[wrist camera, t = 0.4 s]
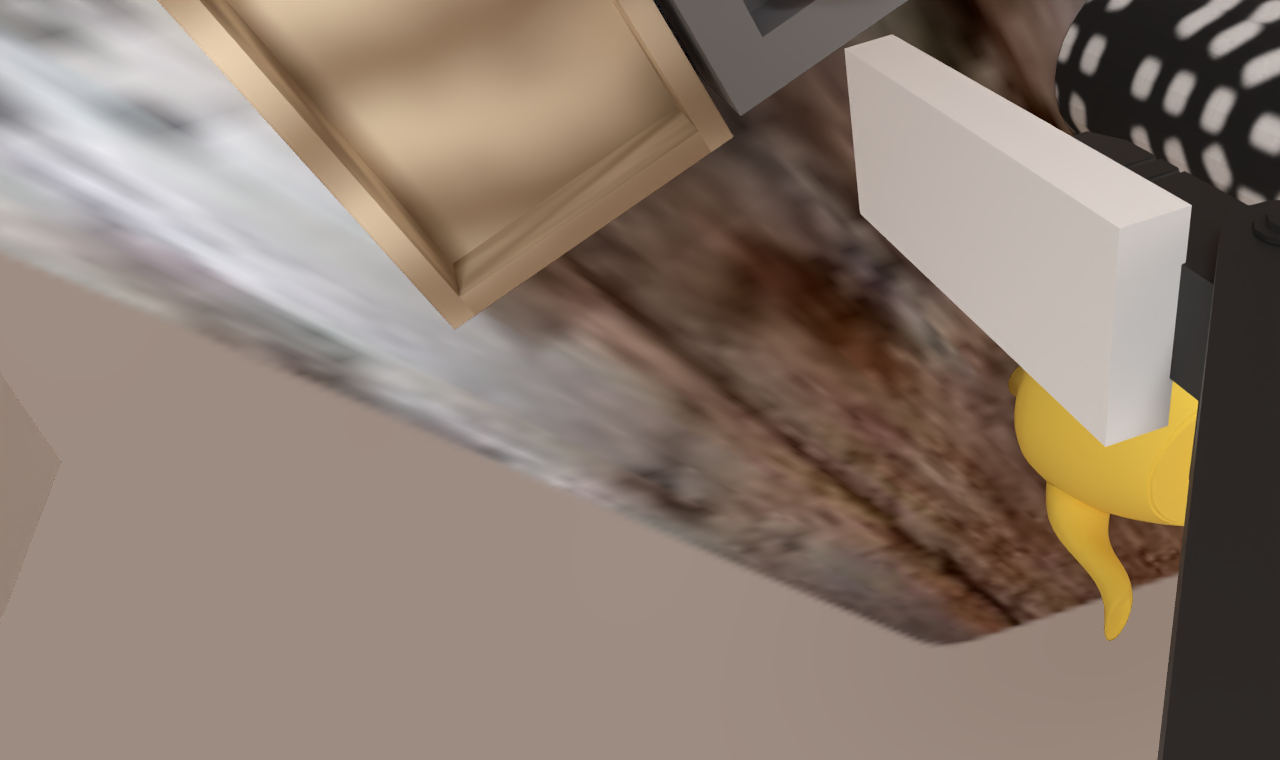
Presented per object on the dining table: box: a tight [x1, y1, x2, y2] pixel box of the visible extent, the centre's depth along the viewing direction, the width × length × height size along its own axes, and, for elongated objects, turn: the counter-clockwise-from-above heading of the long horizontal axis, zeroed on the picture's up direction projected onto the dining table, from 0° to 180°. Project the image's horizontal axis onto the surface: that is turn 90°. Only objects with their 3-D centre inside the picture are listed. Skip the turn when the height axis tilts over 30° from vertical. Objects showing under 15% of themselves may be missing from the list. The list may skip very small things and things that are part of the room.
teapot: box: [1008, 366, 1198, 641], centre depth 50 cm, size 20×15×12 cm
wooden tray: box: [158, 0, 733, 330], centre depth 36 cm, size 18×13×4 cm
